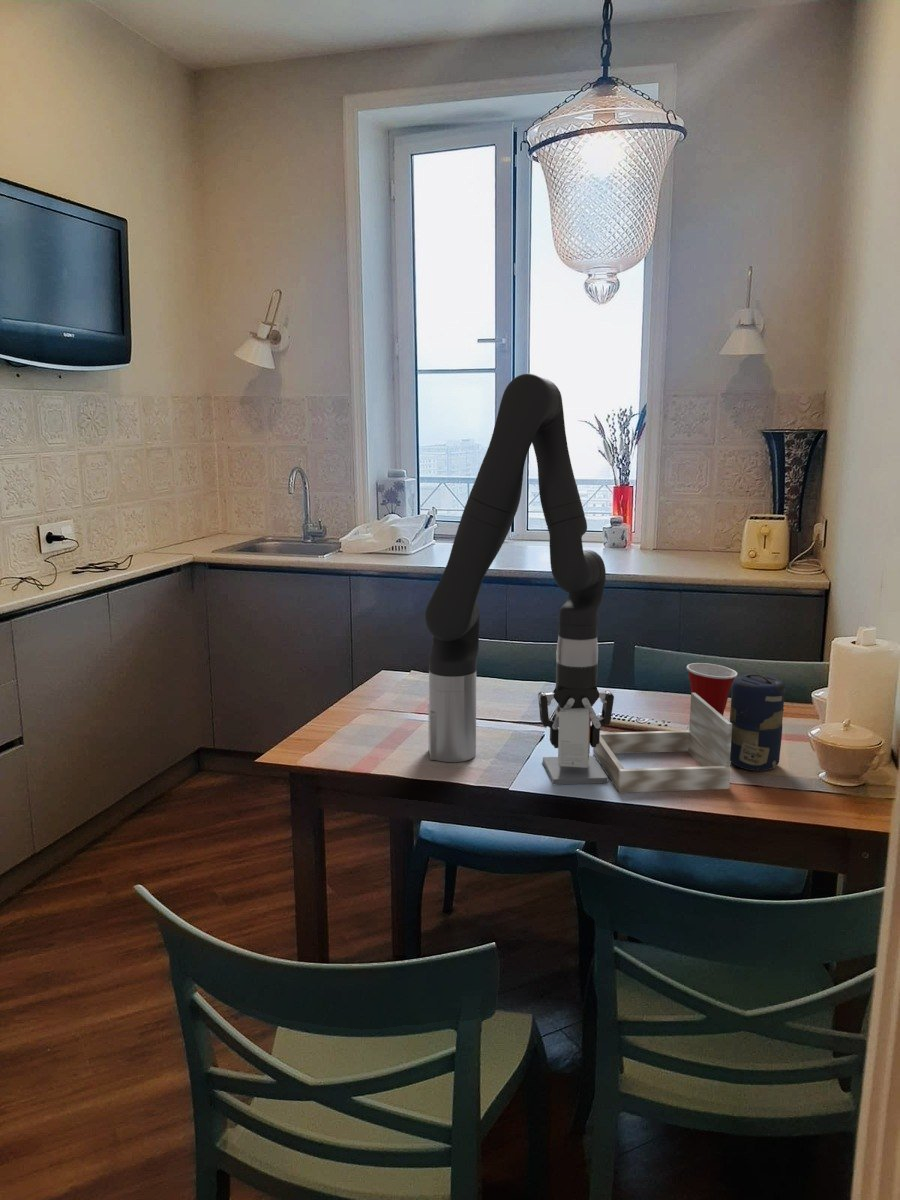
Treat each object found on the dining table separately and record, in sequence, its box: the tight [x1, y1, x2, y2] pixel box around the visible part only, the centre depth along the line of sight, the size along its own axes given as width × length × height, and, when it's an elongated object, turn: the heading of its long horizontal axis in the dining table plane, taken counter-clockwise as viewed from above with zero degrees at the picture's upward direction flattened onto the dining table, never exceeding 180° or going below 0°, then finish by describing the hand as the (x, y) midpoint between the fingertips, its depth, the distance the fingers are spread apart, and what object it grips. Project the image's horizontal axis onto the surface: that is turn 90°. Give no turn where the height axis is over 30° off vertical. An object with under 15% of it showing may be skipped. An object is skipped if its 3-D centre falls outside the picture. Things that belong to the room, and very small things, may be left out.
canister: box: [729, 673, 786, 771], centre depth 170 cm, size 10×10×18 cm
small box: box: [557, 708, 592, 768], centre depth 166 cm, size 8×6×10 cm
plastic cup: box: [686, 662, 738, 717], centre depth 196 cm, size 11×11×12 cm
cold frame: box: [592, 692, 732, 793], centre depth 168 cm, size 20×20×12 cm
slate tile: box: [542, 755, 609, 785], centre depth 168 cm, size 10×11×1 cm
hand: (574, 746), depth 167 cm, fingers closed on small box, 6 cm apart
